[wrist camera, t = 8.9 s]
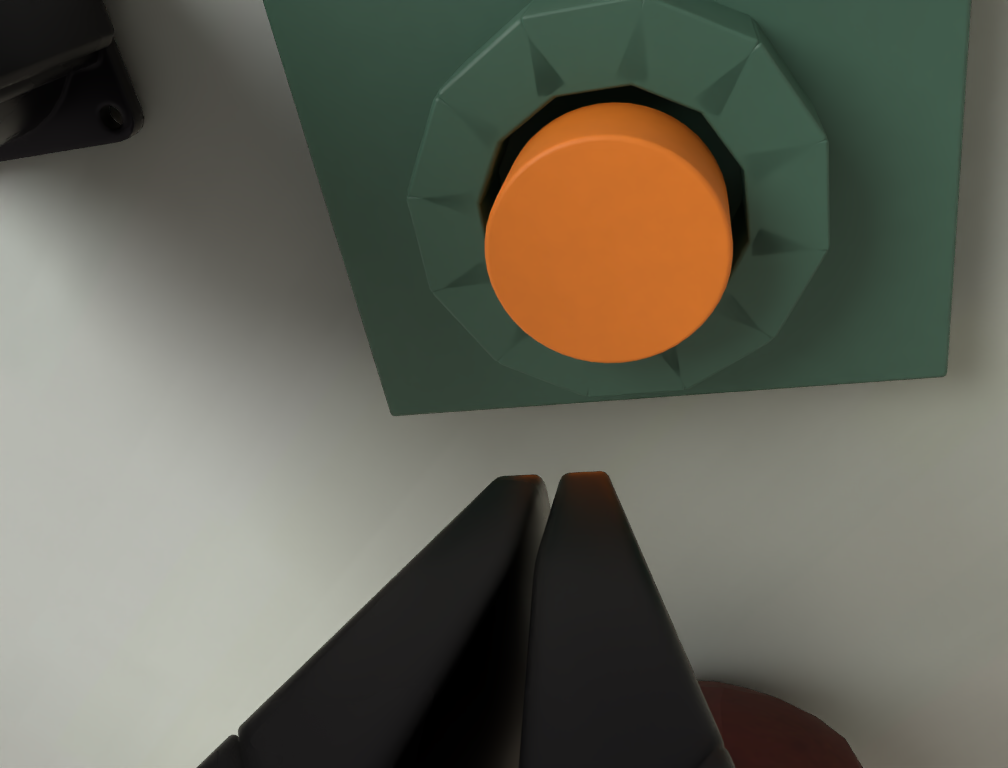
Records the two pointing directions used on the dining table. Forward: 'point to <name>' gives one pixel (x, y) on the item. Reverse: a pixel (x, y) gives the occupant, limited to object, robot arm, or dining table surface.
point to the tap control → (694, 102)
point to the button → (611, 234)
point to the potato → (773, 731)
